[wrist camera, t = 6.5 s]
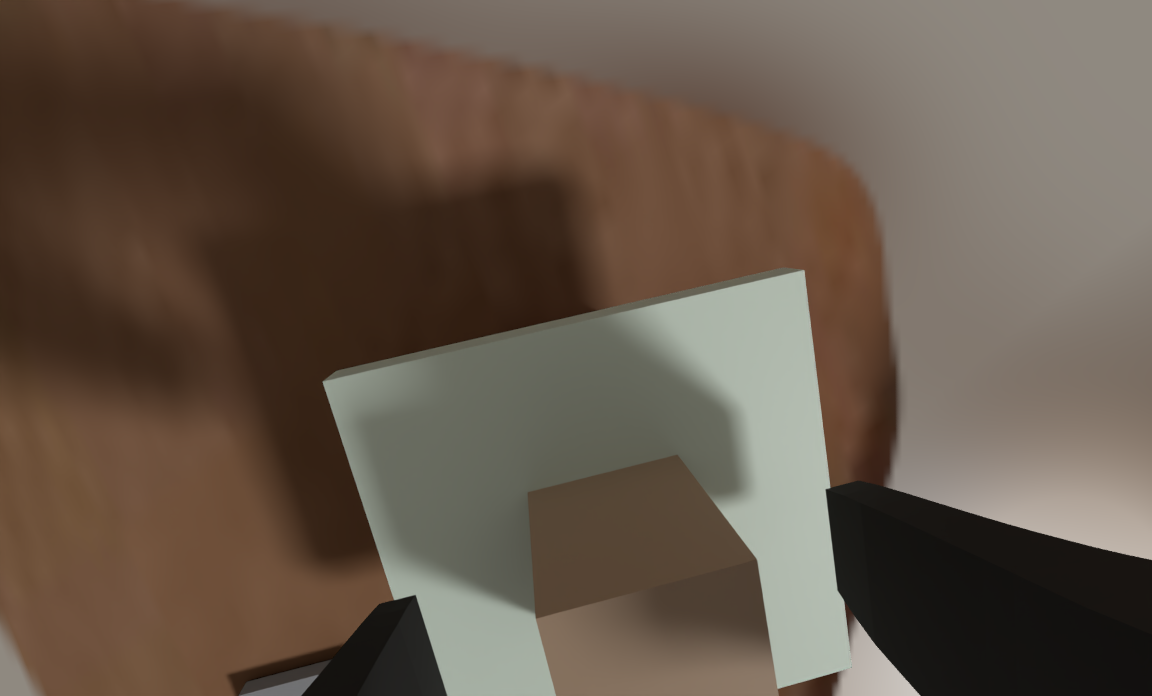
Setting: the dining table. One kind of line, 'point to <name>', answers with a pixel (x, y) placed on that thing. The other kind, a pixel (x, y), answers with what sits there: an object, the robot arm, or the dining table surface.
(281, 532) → the dining table surface
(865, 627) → the robot arm
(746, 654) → the sage lid
